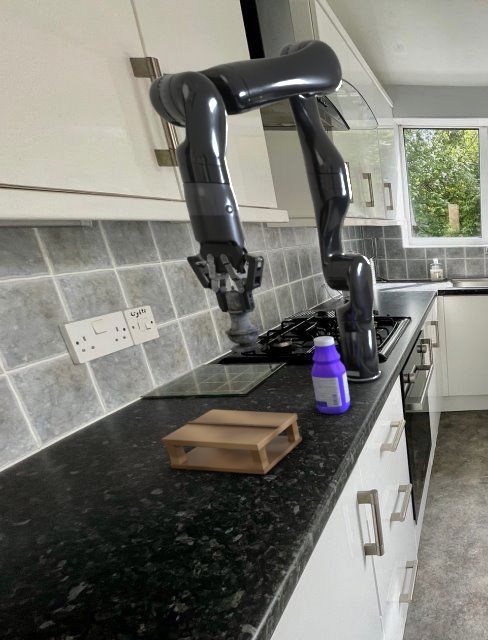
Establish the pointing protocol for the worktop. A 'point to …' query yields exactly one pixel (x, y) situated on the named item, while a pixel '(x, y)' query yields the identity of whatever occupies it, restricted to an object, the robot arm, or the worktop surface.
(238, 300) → the grey tall turned figure
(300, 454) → the worktop surface
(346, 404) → the bottle
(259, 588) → the worktop surface
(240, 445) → the oak rack
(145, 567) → the worktop surface
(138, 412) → the worktop surface
